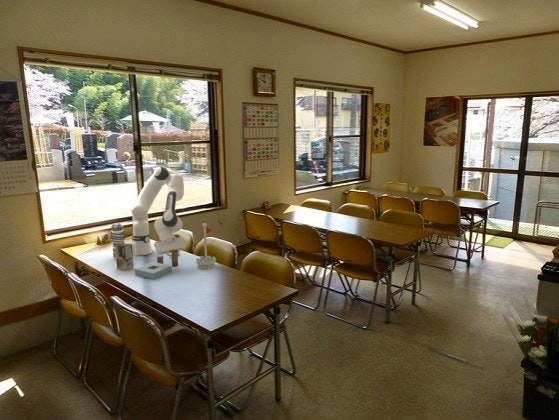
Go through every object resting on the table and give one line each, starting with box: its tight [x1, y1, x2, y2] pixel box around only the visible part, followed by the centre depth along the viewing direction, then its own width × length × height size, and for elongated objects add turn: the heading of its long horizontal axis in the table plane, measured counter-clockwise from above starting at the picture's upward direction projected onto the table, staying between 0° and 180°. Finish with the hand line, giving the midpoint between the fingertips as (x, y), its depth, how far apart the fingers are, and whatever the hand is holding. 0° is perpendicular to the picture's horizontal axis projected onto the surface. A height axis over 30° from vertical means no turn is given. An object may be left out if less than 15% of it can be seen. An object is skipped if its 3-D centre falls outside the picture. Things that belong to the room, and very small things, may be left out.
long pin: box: [170, 249, 179, 268], centre depth 265 cm, size 4×4×11 cm
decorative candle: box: [110, 222, 126, 260], centre depth 290 cm, size 9×9×25 cm
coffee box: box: [115, 242, 134, 271], centre depth 268 cm, size 9×6×16 cm
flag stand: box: [195, 222, 217, 270], centre depth 270 cm, size 13×13×30 cm
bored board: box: [134, 261, 173, 280], centre depth 259 cm, size 16×16×4 cm
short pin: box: [156, 255, 164, 264], centre depth 273 cm, size 4×4×6 cm
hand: (175, 257), depth 265 cm, fingers closed on long pin, 4 cm apart
